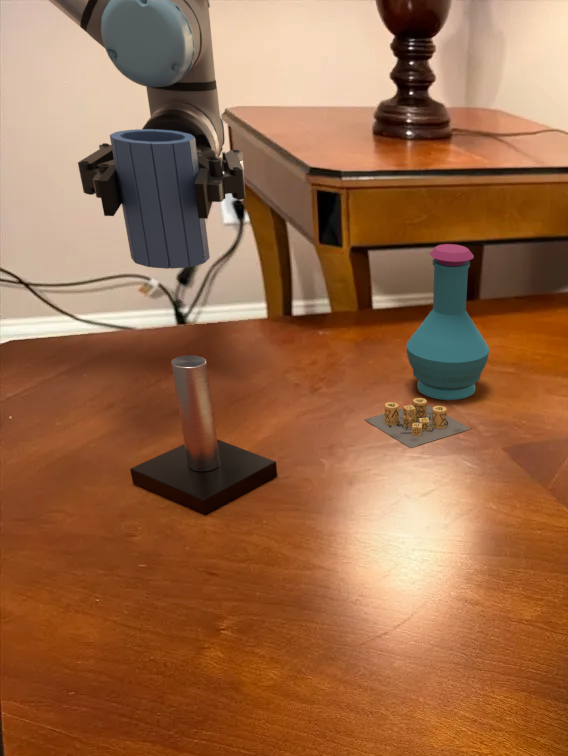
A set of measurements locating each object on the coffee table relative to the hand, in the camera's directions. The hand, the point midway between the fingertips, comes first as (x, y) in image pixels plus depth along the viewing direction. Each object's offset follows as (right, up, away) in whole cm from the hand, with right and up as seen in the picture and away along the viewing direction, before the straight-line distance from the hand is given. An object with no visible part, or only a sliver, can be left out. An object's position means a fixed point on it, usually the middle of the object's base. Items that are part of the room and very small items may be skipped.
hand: (153, 199), depth 73 cm
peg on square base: (+3, -23, +5) cm, 24 cm away
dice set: (+21, -15, +18) cm, 31 cm away
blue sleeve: (-1, -2, +7) cm, 8 cm away
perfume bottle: (+24, -9, +26) cm, 36 cm away
